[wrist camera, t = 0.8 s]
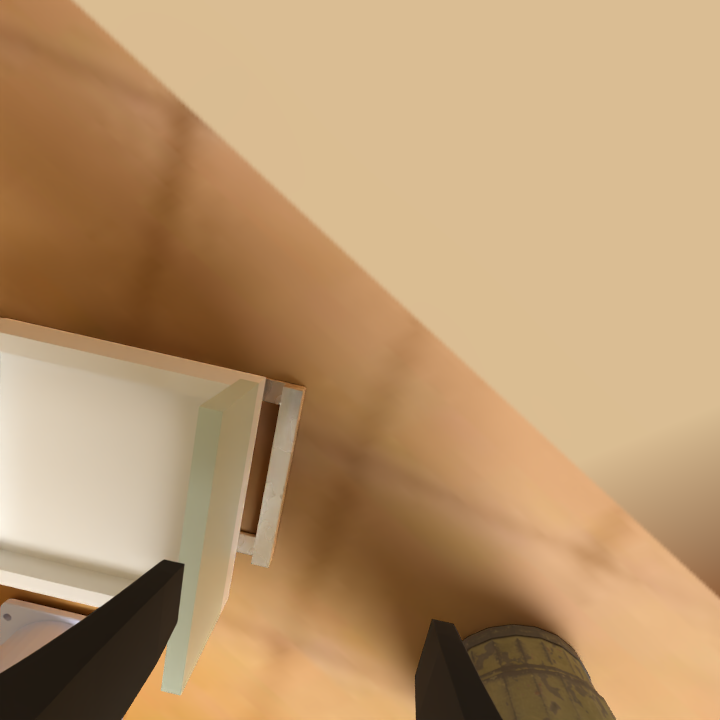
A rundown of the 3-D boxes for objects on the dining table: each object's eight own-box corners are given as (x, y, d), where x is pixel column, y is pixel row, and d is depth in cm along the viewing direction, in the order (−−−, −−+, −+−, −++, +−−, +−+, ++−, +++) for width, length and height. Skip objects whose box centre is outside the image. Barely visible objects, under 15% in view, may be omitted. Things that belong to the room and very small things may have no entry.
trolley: (242, 568, 21) (180, 695, 14) (38, 520, 21) (-114, 625, 15) (278, 367, 18) (222, 411, 12) (46, 314, 19) (-134, 330, 12)
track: (272, 557, 21) (268, 568, 20) (-164, 455, 21) (-185, 462, 21) (306, 386, 19) (303, 391, 18) (-179, 276, 19) (-204, 275, 18)
